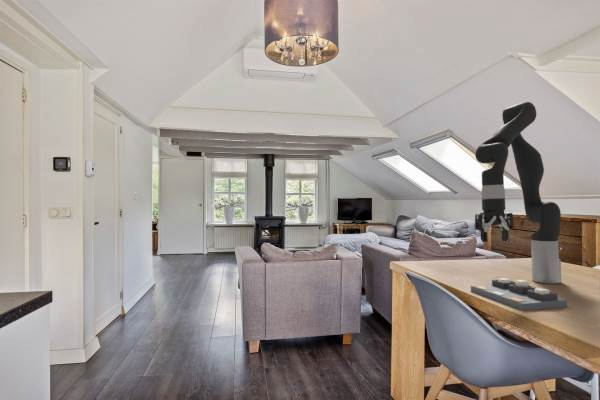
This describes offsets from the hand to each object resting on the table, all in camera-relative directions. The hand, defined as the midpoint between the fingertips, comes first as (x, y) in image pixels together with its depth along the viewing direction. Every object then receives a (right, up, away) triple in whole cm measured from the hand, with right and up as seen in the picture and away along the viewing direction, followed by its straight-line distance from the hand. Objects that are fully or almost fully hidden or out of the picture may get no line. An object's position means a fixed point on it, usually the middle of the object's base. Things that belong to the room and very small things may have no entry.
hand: (494, 241), depth 126 cm
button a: (+4, -16, +1) cm, 17 cm away
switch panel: (+3, -19, -8) cm, 20 cm away
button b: (+5, -15, -7) cm, 17 cm away
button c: (+7, -16, -15) cm, 23 cm away
